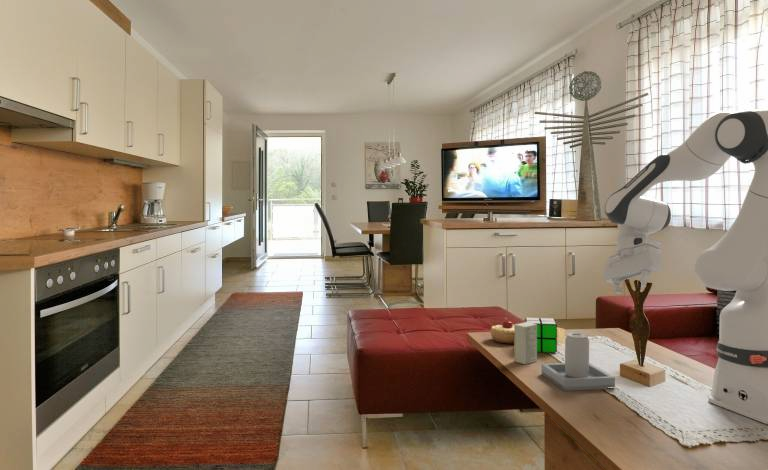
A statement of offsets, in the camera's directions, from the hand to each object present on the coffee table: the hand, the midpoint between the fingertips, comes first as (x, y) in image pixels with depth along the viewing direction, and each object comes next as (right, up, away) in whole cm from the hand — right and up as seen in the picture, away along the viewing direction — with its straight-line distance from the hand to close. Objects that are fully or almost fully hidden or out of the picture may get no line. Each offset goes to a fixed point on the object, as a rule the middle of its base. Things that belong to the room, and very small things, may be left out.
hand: (630, 289), depth 153 cm
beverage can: (-20, -24, -9) cm, 32 cm away
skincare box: (-29, -24, +9) cm, 39 cm away
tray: (-20, -25, -10) cm, 33 cm away
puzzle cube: (-20, -24, +24) cm, 39 cm away
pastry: (-29, -23, +35) cm, 51 cm away
